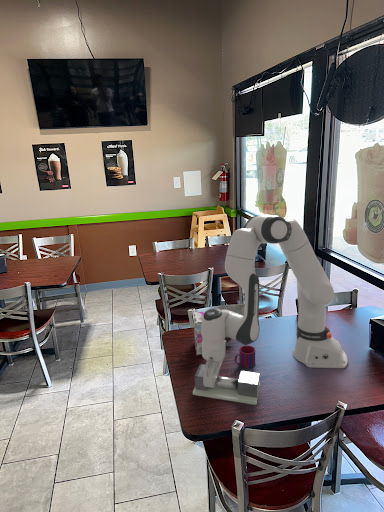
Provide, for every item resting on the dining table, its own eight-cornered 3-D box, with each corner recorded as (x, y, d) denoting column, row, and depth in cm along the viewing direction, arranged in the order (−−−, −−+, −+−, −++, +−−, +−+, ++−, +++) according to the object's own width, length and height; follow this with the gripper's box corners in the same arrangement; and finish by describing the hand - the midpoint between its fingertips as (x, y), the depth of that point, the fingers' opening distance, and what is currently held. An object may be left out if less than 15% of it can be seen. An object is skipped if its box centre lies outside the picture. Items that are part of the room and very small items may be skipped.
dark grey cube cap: (259, 386, 137) (259, 373, 135) (257, 397, 131) (257, 384, 129) (241, 383, 139) (241, 370, 137) (238, 394, 133) (238, 381, 131)
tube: (240, 385, 138) (240, 376, 137) (238, 392, 134) (238, 383, 133) (202, 380, 142) (202, 371, 141) (199, 386, 138) (199, 377, 137)
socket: (211, 378, 143) (211, 365, 141) (206, 391, 136) (206, 377, 134) (200, 376, 144) (200, 364, 142) (195, 389, 137) (194, 375, 135)
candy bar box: (207, 355, 161) (206, 322, 156) (196, 355, 161) (194, 323, 156) (204, 342, 172) (203, 311, 167) (194, 342, 171) (193, 311, 167)
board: (259, 384, 140) (259, 382, 140) (256, 404, 129) (256, 402, 129) (200, 375, 147) (200, 373, 146) (192, 394, 136) (192, 392, 135)
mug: (258, 365, 152) (258, 351, 150) (238, 371, 148) (238, 357, 146) (249, 357, 158) (249, 343, 156) (230, 363, 154) (229, 349, 152)
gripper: (215, 368, 124) (216, 401, 128) (227, 338, 143) (227, 368, 147) (198, 365, 126) (199, 398, 130) (211, 336, 144) (212, 366, 148)
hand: (214, 382), depth 138 cm, fingers closed on tube, 4 cm apart
